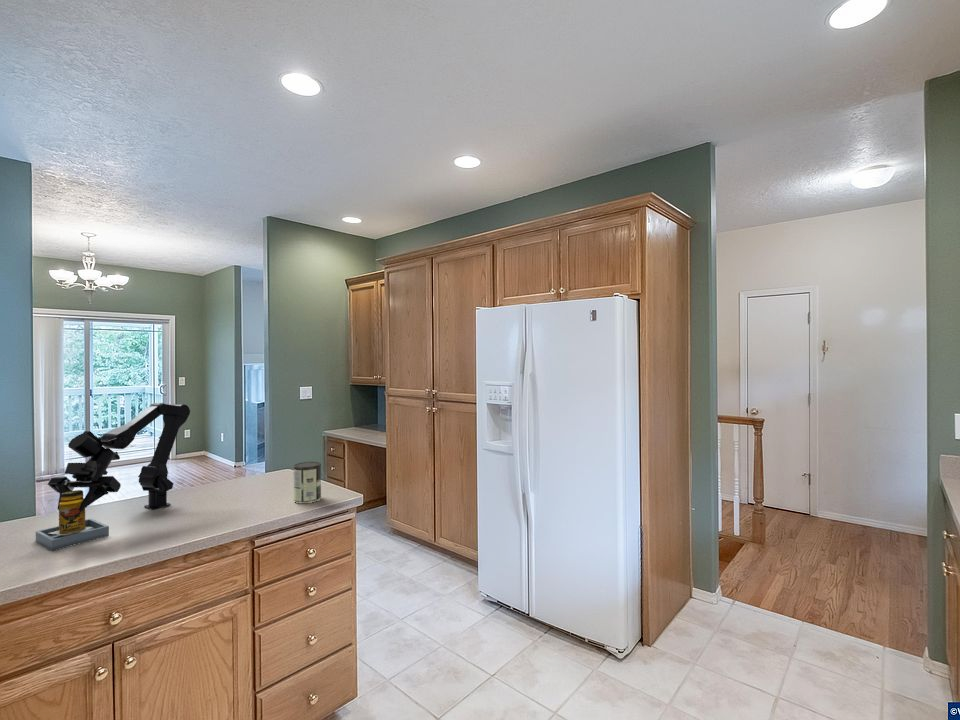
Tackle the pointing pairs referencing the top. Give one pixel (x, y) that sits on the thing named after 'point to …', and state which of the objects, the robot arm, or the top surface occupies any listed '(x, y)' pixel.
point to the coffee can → (307, 482)
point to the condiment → (71, 513)
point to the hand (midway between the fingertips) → (69, 509)
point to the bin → (71, 535)
